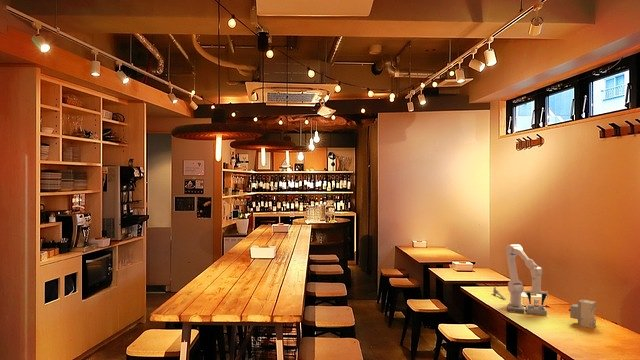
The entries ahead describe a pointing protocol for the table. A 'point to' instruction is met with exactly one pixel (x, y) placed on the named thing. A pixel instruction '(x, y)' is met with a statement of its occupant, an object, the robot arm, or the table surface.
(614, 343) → the table surface
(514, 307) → the fuse holder
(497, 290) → the caliper
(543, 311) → the parts tray
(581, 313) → the circuit breaker
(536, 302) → the fuse
